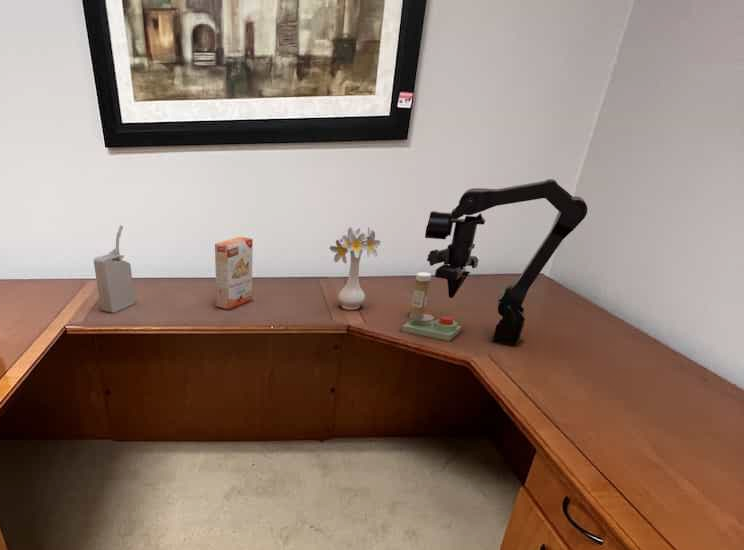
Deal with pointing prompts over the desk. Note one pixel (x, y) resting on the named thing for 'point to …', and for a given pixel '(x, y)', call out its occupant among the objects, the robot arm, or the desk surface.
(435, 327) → the warmer
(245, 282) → the cracker box
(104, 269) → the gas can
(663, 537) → the desk surface
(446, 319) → the button
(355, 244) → the flower vase
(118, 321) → the desk surface
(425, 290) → the sprinkles bottle
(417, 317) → the plate
